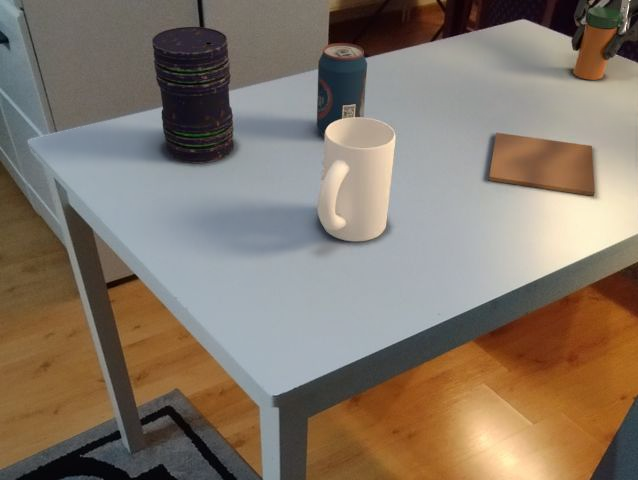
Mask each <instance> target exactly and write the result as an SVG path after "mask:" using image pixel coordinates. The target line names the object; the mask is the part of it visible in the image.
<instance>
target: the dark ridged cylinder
mask: <svg viewBox="0 0 638 480" xmlns="http://www.w3.org/2000/svg"><path fill="white" fill-rule="evenodd" d="M151 43H152V49H153V58H154V59H153V64H154V71H155V75H156V76H155V79H156V82H157V86H158V87H159V90H160V96H161V104H162V109H161V121H162V130H163V135H164V140H165V142H166V144H165V146H166V147H165V148H166V152H167V154H168V155H169V156H170V157H171V158H173V159H175V160H177V161H180V162H183V163H189V164H208V163H213V162H217V161H221V160H224V159H225V158H227V157H228V156H230V155H231V154H232V153H233V151H234V149H235V142H234V130H235V129H234V127H235V126H234V120H233V119H234V118H233V117H234V114H233V109H232V107H231V104H230V87H229V86H230V83H231V73H230V68H231V65H230V57H229V49H228V37H227V35H226V34H225V33H224V32H221V31H220V30H217V29H214V28H209V27H204V26H203V27H202V26H182V27H173V28H169V29H165V30H162V31H160V32H157V34H155V35H153V37H152V38H151Z"/></svg>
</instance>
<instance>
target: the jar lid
mask: <svg viewBox="0 0 638 480" xmlns="http://www.w3.org/2000/svg"><path fill="white" fill-rule="evenodd" d="M622 16H623V13H622V12H620V11H619V10H616V9H612V8H607V7H594V6H593V7H589V8H588V11H587V13H586V18H585V22H586V23H587V24H589V25H591V26H594V27H599V28H616V27H618V26H619V25H620V24H621V21H622Z"/></svg>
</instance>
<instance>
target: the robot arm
mask: <svg viewBox="0 0 638 480" xmlns="http://www.w3.org/2000/svg"><path fill="white" fill-rule="evenodd" d="M595 1H596V0H578V3H577V6H576V7H575V11H574V14H573V19H574V22H575V26H576V27H578V28H577V30H576V31H575V33H574V35H572V37H571V41H570V42H571V47H572V50H573V51H576V52H578V51H579V48H580V44H581V40H582V37H583V33H584V29H585V26H586V22H585V18H586V15H587V13H588V10H589V9H590V6H592V5H593V4H594V2H595ZM593 7H607V8H612V9H616V10H619V11H620V12H622V13H623V16H622V21H621V24H620V25H619V26H618V28H617V31H616V34H614V35H613V37H612V39H611V40H610V42H609V44H608V45H607V47H606V49H605V50H604V52H603V58H604V59H605V60H608V61H609V60H610V59H613V58H614V57H615V56H616V55H617V53H618V51H619V49H620V48H621V46H622V44H623V43H624V42H627V41H631V42H633V43H634V42H637V41H638V20H636V21H635V23H634V24H632V26H631V27H630V23H631V18H632V17H634V16H636V15H638V0H598V3H596V4H595V5H594V6H593Z"/></svg>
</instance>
